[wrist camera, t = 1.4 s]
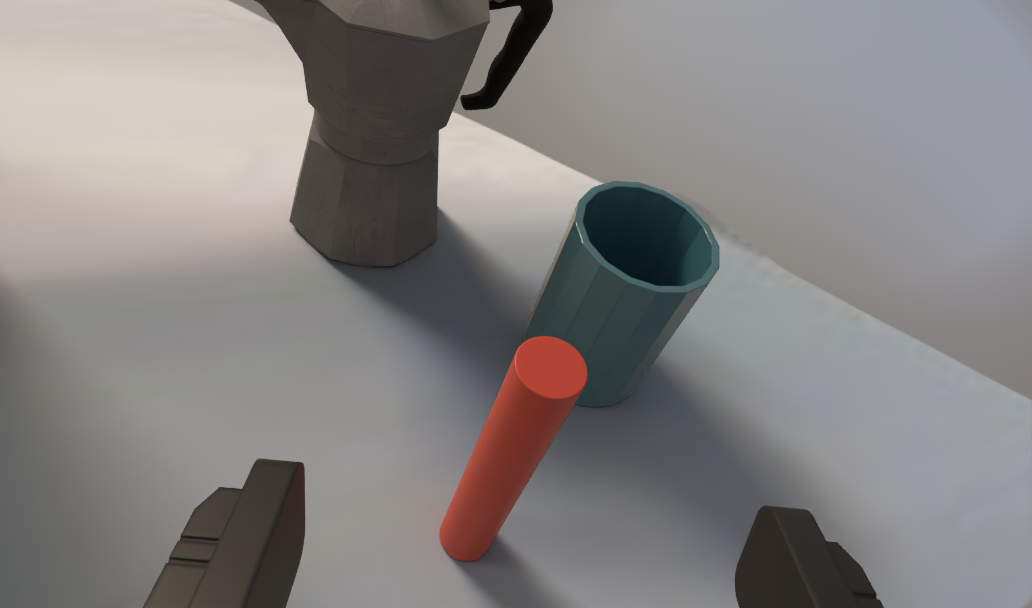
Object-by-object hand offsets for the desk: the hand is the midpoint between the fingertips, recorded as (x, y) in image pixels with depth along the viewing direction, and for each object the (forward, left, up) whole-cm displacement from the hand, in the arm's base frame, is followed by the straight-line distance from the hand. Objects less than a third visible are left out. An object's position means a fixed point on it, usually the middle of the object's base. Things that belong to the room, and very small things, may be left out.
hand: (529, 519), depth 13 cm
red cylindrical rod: (-2, +8, -20) cm, 22 cm away
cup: (-3, +21, -20) cm, 29 cm away
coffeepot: (-18, +21, -20) cm, 34 cm away
